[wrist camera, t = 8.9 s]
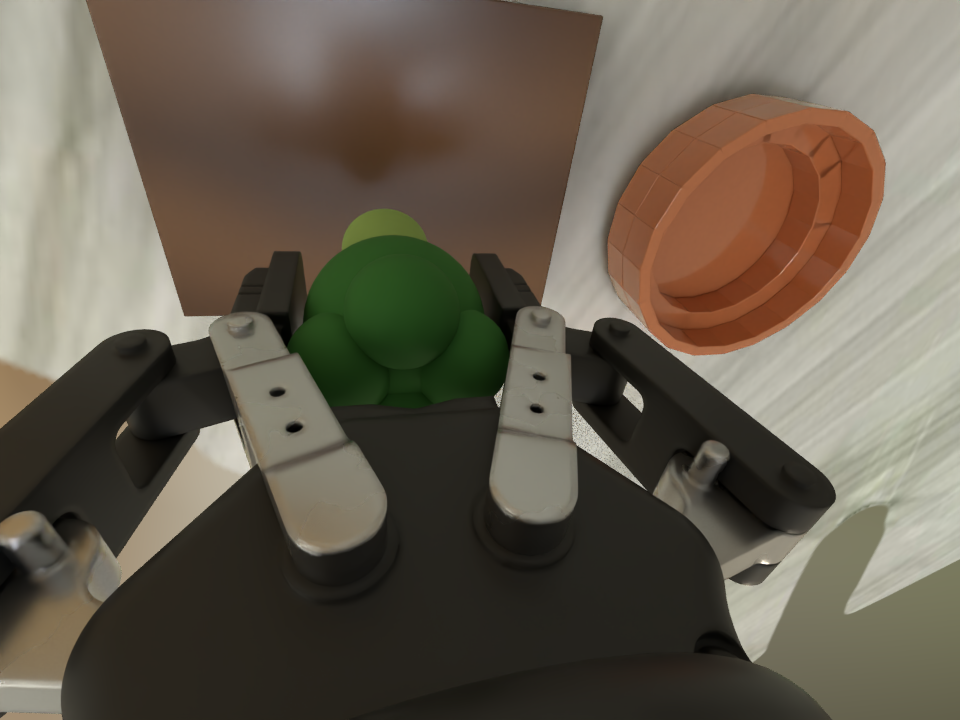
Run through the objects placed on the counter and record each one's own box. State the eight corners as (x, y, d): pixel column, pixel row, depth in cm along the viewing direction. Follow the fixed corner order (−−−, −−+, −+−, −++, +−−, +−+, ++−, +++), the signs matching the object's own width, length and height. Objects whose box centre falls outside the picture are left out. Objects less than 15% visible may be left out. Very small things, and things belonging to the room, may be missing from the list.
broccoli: (295, 166, 14) (254, 290, 8) (467, 175, 16) (543, 287, 9) (313, 316, 17) (294, 486, 11) (454, 313, 19) (506, 464, 13)
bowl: (644, 79, 24) (700, 95, 20) (859, 104, 27) (942, 121, 24) (578, 317, 32) (609, 359, 29) (748, 313, 36) (796, 350, 32)
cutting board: (88, -60, 17) (64, -65, 16) (587, 14, 22) (604, 15, 20) (192, 300, 26) (184, 317, 24) (531, 296, 31) (540, 310, 29)
